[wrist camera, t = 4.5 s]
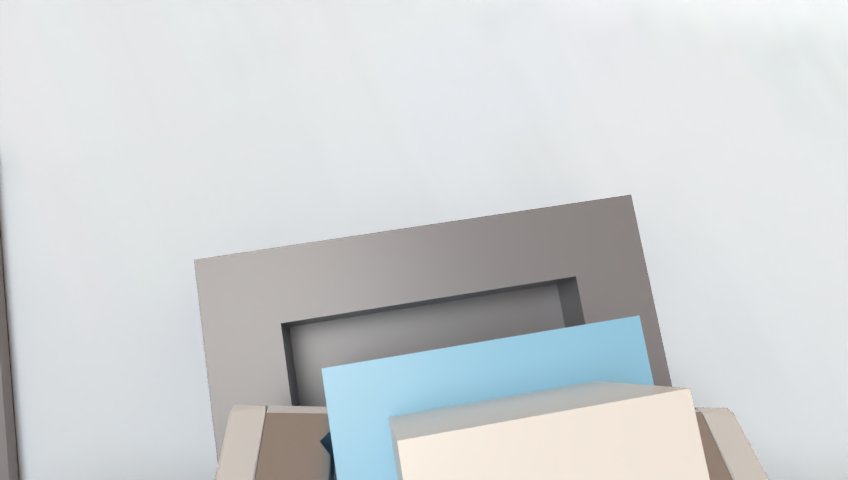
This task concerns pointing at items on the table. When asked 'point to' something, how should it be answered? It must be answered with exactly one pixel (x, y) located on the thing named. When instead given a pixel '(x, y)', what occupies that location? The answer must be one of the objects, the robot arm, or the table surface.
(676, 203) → the table surface
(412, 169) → the table surface
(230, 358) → the grey square tray
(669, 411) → the plug
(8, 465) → the port
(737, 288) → the table surface
